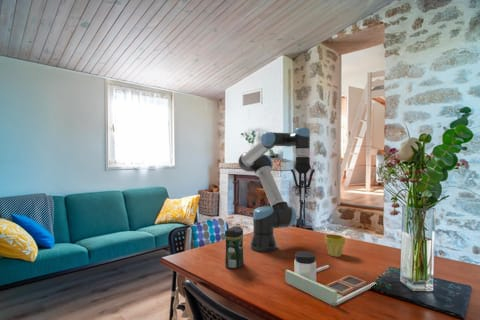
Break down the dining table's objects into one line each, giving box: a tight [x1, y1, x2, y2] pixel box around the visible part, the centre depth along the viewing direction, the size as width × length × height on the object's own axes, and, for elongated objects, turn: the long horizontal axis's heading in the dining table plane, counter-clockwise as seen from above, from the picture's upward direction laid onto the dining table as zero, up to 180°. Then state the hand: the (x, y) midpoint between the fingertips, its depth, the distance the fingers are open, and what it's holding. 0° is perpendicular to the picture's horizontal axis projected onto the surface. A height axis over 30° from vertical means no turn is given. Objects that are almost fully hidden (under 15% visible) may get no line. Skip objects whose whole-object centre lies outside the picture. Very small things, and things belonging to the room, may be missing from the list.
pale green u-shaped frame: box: [284, 264, 377, 307], centre depth 117 cm, size 28×24×5 cm
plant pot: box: [324, 233, 346, 258], centre depth 153 cm, size 10×10×10 cm
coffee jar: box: [224, 225, 245, 270], centre depth 138 cm, size 10×8×19 cm
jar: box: [293, 250, 317, 282], centre depth 118 cm, size 9×8×12 cm
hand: (302, 200), depth 153 cm, fingers closed
